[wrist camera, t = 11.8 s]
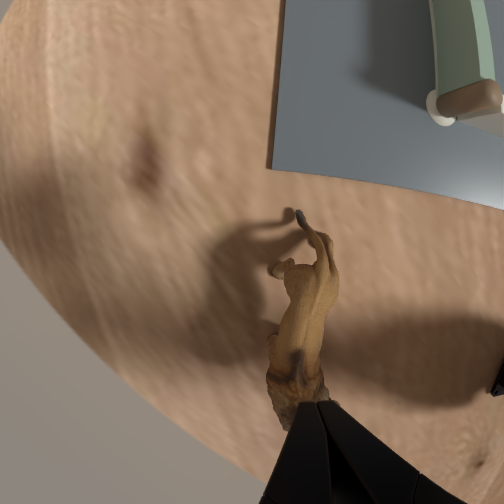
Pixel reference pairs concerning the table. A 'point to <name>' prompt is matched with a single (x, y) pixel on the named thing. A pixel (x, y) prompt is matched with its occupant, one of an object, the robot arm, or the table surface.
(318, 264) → the lion figurine
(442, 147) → the card
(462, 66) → the fence panel
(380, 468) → the robot arm
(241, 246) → the table surface
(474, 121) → the fixed fence
